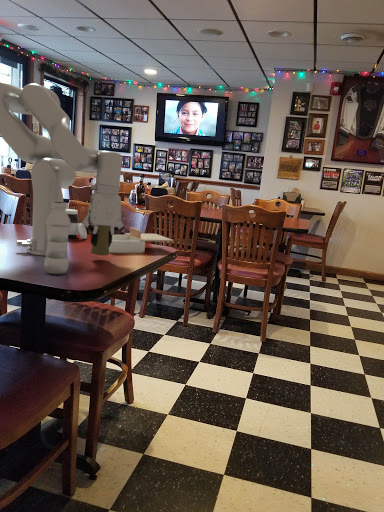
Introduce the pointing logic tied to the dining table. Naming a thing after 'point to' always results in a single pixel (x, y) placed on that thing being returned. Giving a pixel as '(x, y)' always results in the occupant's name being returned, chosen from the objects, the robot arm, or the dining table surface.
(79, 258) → the dining table surface
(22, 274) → the dining table surface
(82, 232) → the spread jar
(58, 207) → the plastic bottle
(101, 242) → the olive pepper mill
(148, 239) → the lid
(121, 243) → the mailer box
